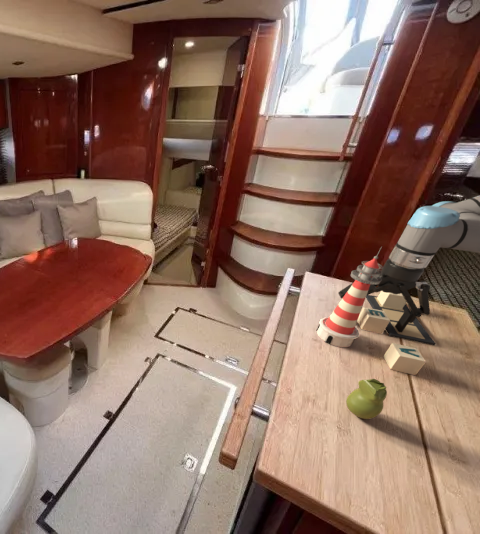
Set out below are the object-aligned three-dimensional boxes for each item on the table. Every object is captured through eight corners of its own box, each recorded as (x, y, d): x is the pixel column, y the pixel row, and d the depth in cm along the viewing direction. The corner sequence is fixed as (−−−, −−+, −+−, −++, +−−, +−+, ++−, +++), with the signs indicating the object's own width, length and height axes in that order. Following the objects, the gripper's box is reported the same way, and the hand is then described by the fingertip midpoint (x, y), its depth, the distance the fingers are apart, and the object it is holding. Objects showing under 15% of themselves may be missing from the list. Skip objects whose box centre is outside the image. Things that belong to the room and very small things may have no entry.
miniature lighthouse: (348, 353, 84) (403, 259, 69) (310, 336, 90) (353, 245, 75) (357, 338, 89) (410, 247, 74) (320, 323, 95) (362, 235, 80)
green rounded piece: (379, 423, 67) (402, 394, 62) (355, 424, 67) (376, 394, 62) (358, 401, 71) (378, 372, 66) (336, 402, 71) (354, 372, 66)
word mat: (401, 302, 103) (403, 300, 103) (434, 345, 86) (436, 343, 86) (365, 296, 107) (366, 294, 107) (389, 336, 90) (390, 333, 89)
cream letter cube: (406, 361, 81) (417, 347, 79) (415, 375, 77) (426, 361, 75) (383, 356, 83) (392, 342, 81) (390, 369, 79) (400, 355, 77)
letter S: (395, 301, 103) (403, 288, 100) (401, 309, 99) (410, 296, 96) (376, 298, 105) (384, 285, 102) (382, 306, 101) (389, 293, 98)
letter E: (376, 323, 95) (384, 310, 92) (382, 333, 91) (390, 320, 88) (356, 319, 97) (363, 306, 94) (361, 329, 93) (369, 315, 90)
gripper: (353, 260, 84) (322, 319, 95) (478, 280, 75) (429, 343, 86) (345, 249, 90) (318, 306, 101) (460, 266, 81) (417, 326, 92)
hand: (368, 323), depth 93 cm, fingers open, 13 cm apart
